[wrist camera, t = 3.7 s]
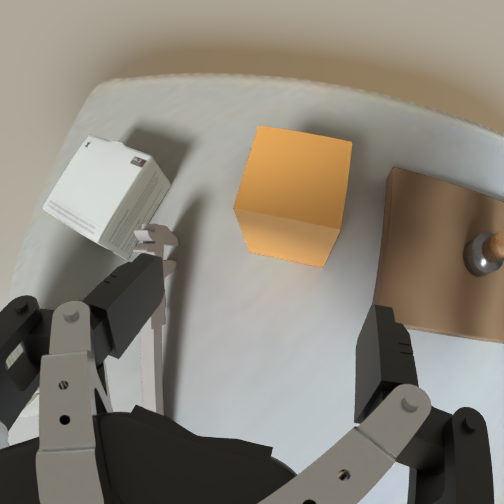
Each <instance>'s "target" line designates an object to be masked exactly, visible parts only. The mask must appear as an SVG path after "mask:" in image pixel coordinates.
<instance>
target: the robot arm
mask: <svg viewBox="0 0 504 504" xmlns="http://www.w3.org/2000/svg"><path fill="white" fill-rule="evenodd" d="M163 296H164V276H163V261H162V258H161V257H160V256H156V255H151V254H147V253H141V254H140V255H139V256H138V257H137V258H136V259H135V260H134V261H132V262H127V263H125V264H123V265H121V266H119V267H117V268H116V269H115V270H114V271H113V272H112V273H111V274H110V276H108V277H107V278H106V279H104V282H101V283H100V284H99V285H98V286H97V287H96V288H95V289H94V290H93V291H92V292H91V293H90V294H89V295H88V296H87V297H86V298H85V299H84V300H83V301H82V302H81V301H69V302H66V303H63V304H61V305H60V306H59V307H57V308H56V310H47V309H40V308H39V305H38V302H37V300H36V298H34V297H33V296H28V295H25V296H20V297H17V298H15V299H14V300H12V301H11V302H10V303H9V304H8V305H7V306H6V307H5V308H4V309H3V310H2V311H1V312H0V504H357V503H358V502H359V501H360V500H361V499H362V498H363V497H364V496H365V495H366V494H367V493H368V492H369V491H370V490H371V489H372V488H373V487H374V486H375V485H376V483H377V482H378V481H379V480H380V479H381V478H382V477H383V476H384V474H385V473H386V472H387V471H388V470H389V469H390V468H391V466H392V465H393V464H394V463H395V462H398V463H401V464H403V465H406V466H409V467H410V472H409V489H408V501H407V504H494V488H493V474H492V463H491V454H490V446H489V439H488V433H487V426H486V422H485V420H484V418H483V416H482V415H481V414H480V413H479V412H478V411H476V410H475V409H473V408H470V407H462V408H460V409H458V410H457V411H456V412H455V413H454V414H453V415H452V414H449V413H447V412H444V411H442V410H439V409H437V408H434V407H433V406H431V401H430V399H429V397H428V395H427V394H426V393H425V391H423V390H422V389H421V388H419V386H418V379H417V373H416V367H415V361H414V356H413V350H412V347H411V340H410V335H409V333H408V331H407V330H406V328H405V327H404V325H403V324H402V323H397V322H395V318H394V312H393V308H392V307H386V306H381V305H376V304H372V305H371V307H370V309H369V312H368V315H367V317H366V320H365V322H364V324H363V327H362V329H361V332H360V334H359V337H358V340H357V345H356V383H355V414H354V423H360V425H359V426H358V427H356V426H355V427H354V428H353V429H351V430H350V431H349V432H348V433H347V434H346V435H345V436H344V437H343V438H341V439H340V440H339V441H338V442H337V443H336V444H335V445H334V446H332V447H331V448H330V449H329V450H328V451H327V452H325V453H324V454H323V455H322V456H321V457H320V458H318V459H317V460H316V461H315V462H313V463H312V464H311V465H310V466H308V467H307V468H306V469H305V470H303V471H302V472H301V473H300V474H298V475H297V474H296V473H295V472H294V471H293V470H292V469H291V468H290V467H288V466H287V465H286V464H284V463H283V462H281V461H279V460H278V459H276V458H274V457H271V453H272V449H273V447H269V446H264V445H260V444H256V443H251V442H247V441H243V440H239V439H229V438H214V437H202V436H197V435H195V434H193V433H192V432H190V431H188V430H187V429H185V428H183V427H182V426H180V425H179V424H177V423H176V422H174V421H172V420H171V419H169V418H168V417H166V416H163V415H161V414H158V413H156V412H153V411H150V410H148V409H145V408H143V407H140V406H138V405H135V407H134V409H133V410H132V412H131V413H129V412H113V409H112V405H111V401H110V394H109V387H108V379H107V371H106V363H105V358H106V357H107V356H108V355H110V356H113V357H115V358H118V359H119V358H120V357H121V356H122V354H123V353H124V351H125V350H126V349H127V347H128V346H129V345H130V343H131V342H132V341H133V339H134V338H135V337H136V335H137V334H138V333H139V331H140V330H141V329H142V327H143V326H144V325H145V323H146V322H147V321H148V319H149V318H150V317H151V315H152V314H153V313H154V312H155V310H156V309H157V308H158V306H159V305H160V304H161V302H162V299H163ZM19 344H21V347H22V349H23V352H22V353H21V355H20V356H19V357H18V358H17V359H16V361H15V362H14V363H13V364H12V365H11V367H10V368H9V369H8V370H7V371H6V367H5V363H6V360H7V358H8V357H9V355H10V354H11V353H12V352H13V351H14V350H15V348H16V347H17V346H18V345H19ZM39 387H40V388H39ZM38 388H39V437H37V438H34V439H31V440H28V441H25V442H21V443H18V444H15V445H12V446H10V445H9V443H8V431H9V430H10V428H11V427H12V425H13V424H14V422H15V421H16V419H17V418H18V416H19V415H20V413H21V412H22V410H23V409H24V408H25V406H26V405H27V403H28V402H29V400H30V399H31V398H32V396H33V395H34V393H35V392H36V391H37V389H38Z"/></svg>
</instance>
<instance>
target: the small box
mask: <svg viewBox="0 0 504 504" xmlns="http://www.w3.org/2000/svg"><path fill="white" fill-rule="evenodd" d="M170 186H171V183H170V182H169V180H168V179H167V177H166V176H165V175H164V173H163V172H162V170H161V169H160V167H159V166H158V164H157V163H156V161H155V160H154V158H153V157H152V156H151V155H149V154H147V153H144V152H141V151H138V150H135V149H133V148H130V147H127V146H125V145H124V144H123V143H121V142H119V141H109V140H106V139H103V138H100V137H97V136H94V135H89V136H88V138H87V139H86V140H85V141H84V143H83V144H82V145H81V147H80V148H79V150H78V151H77V153H76V154H75V156H74V157H73V159H72V160H71V162H70V163H69V165H68V167H67V168H66V170H65V171H64V173H63V174H62V176H61V178H60V179H59V181H58V182H57V184H56V186H55V187H54V189H53V191H52V192H51V194H50V196H49V197H48V199H47V201H46V203H45V204H44V206H43V209H44V210H45V211H46V212H48V213H49V214H50V215H52V216H53V217H55V218H56V219H58V220H59V221H61V222H62V223H64V224H65V225H67V226H69V227H70V228H72V229H73V230H75V231H76V232H78V233H80V234H81V235H83V236H85V237H86V238H88V239H90V240H92V241H93V242H95V243H97V244H99V245H100V246H102V247H104V248H106V249H107V250H109V251H111V252H113V253H115V254H116V255H118V256H120V257H122V258H123V259H125V260H128V259H129V257H130V255H131V253H132V251H133V248H134V247H135V246H136V244H137V242H138V239H137V237H136V236H135V234H134V231H140V230H142V224H148V223H149V221H150V219H151V218H152V216H153V214H154V212H155V211H156V209H157V208H158V206H159V204H160V202H161V201H162V199H163V198H164V196H165V194H166V193H167V191H168V190H169V188H170Z"/></svg>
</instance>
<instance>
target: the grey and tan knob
mask: <svg viewBox="0 0 504 504" xmlns="http://www.w3.org/2000/svg"><path fill="white" fill-rule="evenodd" d="M463 261H464V265H465V267H466V269H467V270H468V271H469V273H471V274H472V275H473V276H475V277H483V276H485V275H487V274H490V273H492V272H494V271H496V270H498V269H499V268H501V266H502V264H503V262H504V228H503V229H501V230H500V231H498V232H497V233H495V234H493V233H491V232H487V231H486V232H482V233H481V234H479V235H478V236H476V237H475V238H473V239H472V240H471V241H469V242H468V243H467V244H466V245H465V247H464V249H463Z"/></svg>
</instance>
